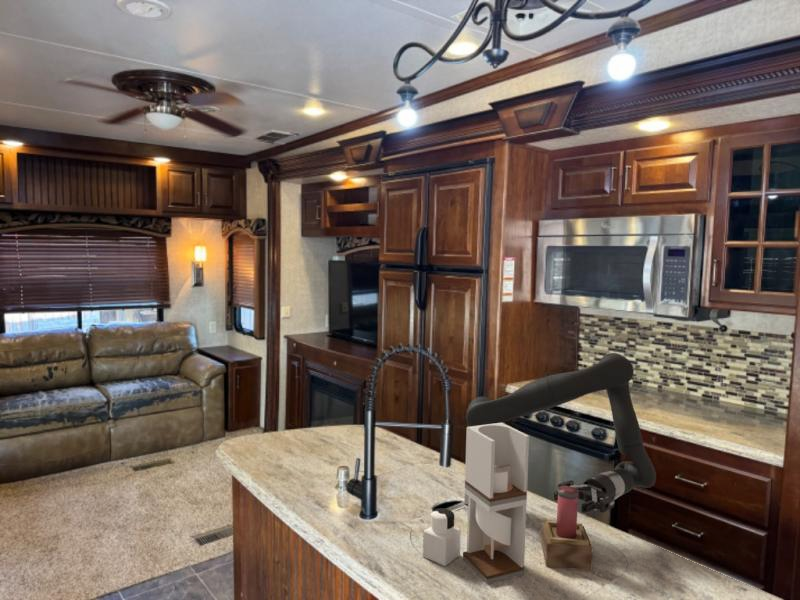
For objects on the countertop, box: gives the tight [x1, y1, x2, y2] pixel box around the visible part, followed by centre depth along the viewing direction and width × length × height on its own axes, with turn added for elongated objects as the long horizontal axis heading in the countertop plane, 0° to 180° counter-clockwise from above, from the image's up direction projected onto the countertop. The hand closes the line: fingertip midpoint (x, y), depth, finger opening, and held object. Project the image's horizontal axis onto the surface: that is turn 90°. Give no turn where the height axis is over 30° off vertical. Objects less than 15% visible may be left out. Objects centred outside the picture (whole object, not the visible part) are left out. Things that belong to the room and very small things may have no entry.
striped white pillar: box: [462, 423, 530, 585], centre depth 138 cm, size 11×11×35 cm
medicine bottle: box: [422, 507, 462, 567], centre depth 144 cm, size 7×7×12 cm
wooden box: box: [540, 520, 593, 571], centre depth 145 cm, size 11×11×7 cm
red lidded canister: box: [556, 486, 579, 539], centre depth 144 cm, size 5×5×12 cm
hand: (568, 502), depth 144 cm, fingers open, 8 cm apart
